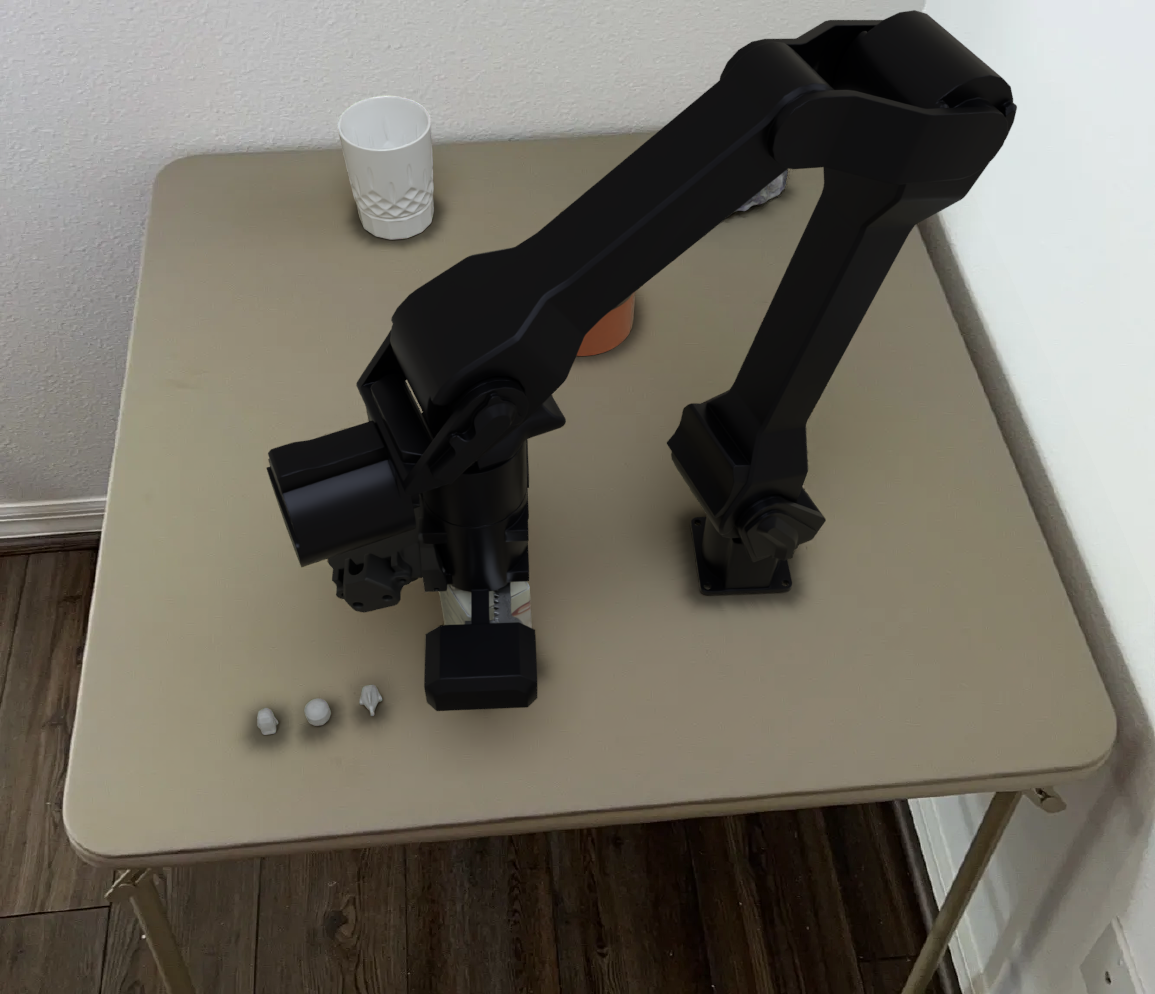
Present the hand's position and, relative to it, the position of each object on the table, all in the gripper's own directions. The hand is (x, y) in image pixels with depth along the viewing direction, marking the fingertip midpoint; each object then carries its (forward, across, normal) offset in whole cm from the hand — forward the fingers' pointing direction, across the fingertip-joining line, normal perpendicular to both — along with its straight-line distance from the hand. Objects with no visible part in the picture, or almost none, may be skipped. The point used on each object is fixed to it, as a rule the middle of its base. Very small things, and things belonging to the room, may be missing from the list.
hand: (486, 630), depth 74 cm
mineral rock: (+3, -48, +22) cm, 53 cm away
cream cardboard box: (+3, 0, 0) cm, 3 cm away
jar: (+3, -32, +8) cm, 33 cm away
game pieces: (+3, +4, -11) cm, 12 cm away
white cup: (+3, -46, -8) cm, 47 cm away
